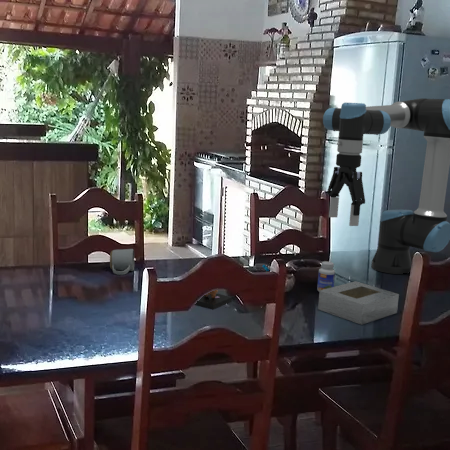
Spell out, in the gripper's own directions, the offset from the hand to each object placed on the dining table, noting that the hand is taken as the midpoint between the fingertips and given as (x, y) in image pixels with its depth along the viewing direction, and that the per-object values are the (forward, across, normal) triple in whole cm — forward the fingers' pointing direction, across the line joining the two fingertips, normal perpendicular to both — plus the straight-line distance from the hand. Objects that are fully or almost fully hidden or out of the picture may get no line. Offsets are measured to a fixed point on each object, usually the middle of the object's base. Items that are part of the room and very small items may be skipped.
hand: (343, 221), depth 201 cm
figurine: (+26, -3, -42) cm, 49 cm away
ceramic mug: (+26, -41, -62) cm, 79 cm away
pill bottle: (+26, -8, 0) cm, 27 cm away
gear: (+26, -16, -16) cm, 34 cm away
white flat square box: (+25, +13, +1) cm, 28 cm away
